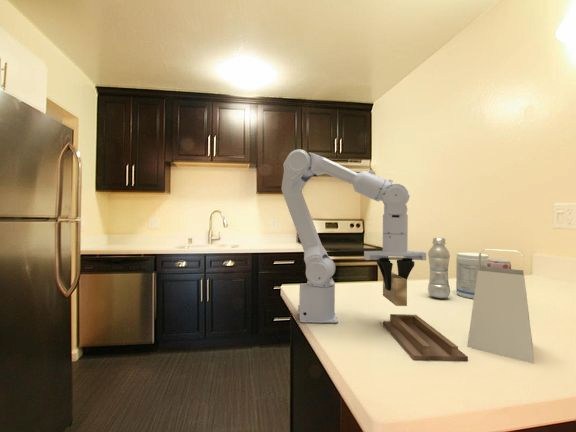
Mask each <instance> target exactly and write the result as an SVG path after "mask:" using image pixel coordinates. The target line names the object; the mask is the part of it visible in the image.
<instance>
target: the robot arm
mask: <svg viewBox="0 0 576 432" xmlns="http://www.w3.org/2000/svg"><path fill="white" fill-rule="evenodd" d="M282 165H283V175H282V182H281V193H282V195H283V198H284V201H285V203H286V206H287V209H288V211H289V215H290V217H291V219H292V222H293V225H294V228H295V230H296V233H297V236H298V239H299V241H300V244H301V247H302V249H303V261H304V263H305V277H306V279H307V281H306V283H299V299H298V300H299V301H298V303H299V304H298V306H297V312H298V313H299V322H300V323H313V324H314V323H318V324H320V323H323V324H325V323H327V324H331V323H332V324H337V323H339V320H338V318H337V316H336V314H335V306H336V305H335V302H336V301H335V300H336V299H335V294H336V291H335V290H336V283H335V281H334V279H333V276H334V275H335V273H336V268H337V267H336V264H335V262H334V261H333V259H332V258H331V257H330V256H329V255H328V253H327V250H326V249H325V247H324V245H322V244H323V243H322V242H321V239H320V237H319V234H318V231H317V228H316V226H315V224H314V220H313V219H312V216H311V212H310V211H309V207H308V205H307V203H306V200H305V197H304V194H303V189H304V188H305V185H306V184H307V183H308V181H309V180H310V179H312V178H313V176H314V175H316V176H321V175H328V176H331V177H333V178H336V179H338V180H341V181H343V182H345V183H348V184H351V185H352V186H353V190H354V192H356V193H358V194H359V195H362V196H365V197H367V198H369V199H371V200H372V201H376V202H382V203H383V214H382V250H364V252H363V260H365V261H371V260H375V261H376V265H377V266H378V268H379V270H380V273H381V275H382V276H381V277H382V280H383V279H384V283H385V289H387V290H391V273H393V272H392V271H393V266H394V263H393V262H391V260H392V261H393V260H395V261H396V266H397V275H399V276H401V277H403V278H405V279H407V280H408V279H409V276H410V274H411V271H412V270H413V269H414V267H415V261H427V252H426V251H415V250H412V251H411V250H408V249H409V248H408V247H409V246H408V245H409V244H408V240H409V239H408V234H409V233H408V232H409V231H408V230H409V229H408V228H409V227H408V226H409V225H408V224H409V223H408V221H409V219H408V213H407V212H408V206H407V203H408V201H409V200H410V194H409V191H408V189H407V187H405V186H404V185H402V184H401V183H393V182H394V180H393V179H391V178H389V179H386V178H383V177H381V176H378V175H377V174H376V172H375V171H373V170H371V169H370V170H369V171H366V170H363V171H360V172H357V171H354V170H351V169H349V168H347V167H346V166H343V165H341V164H339V163H338V162H335V161H333V160H330V159H328V158H327V157H324V156H321V155H318V154H316V153H313V152H309V153H307V151H306V150H304V149H299V148H298V149H294V150H292V151H291V152H290V153H289V154H288V155H287V156H286V159H285V160H284V162H283V164H282Z"/></svg>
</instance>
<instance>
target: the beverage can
mask: <svg viewBox="0 0 576 432" xmlns="http://www.w3.org/2000/svg"><path fill="white" fill-rule="evenodd" d="M487 267H494V268H504V269H512V264H511V260H510V259H504V258H492V257H491V258H488V261H487Z"/></svg>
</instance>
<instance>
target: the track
mask: <svg viewBox="0 0 576 432" xmlns="http://www.w3.org/2000/svg"><path fill="white" fill-rule="evenodd" d="M382 326H383V327H384V328H385V329H386V330H387V332H389V334H390V335H391V336H392V337H393V338H394V339H395V341H397V343H398V344H399V345H400V347H402V348H403V350H404V351H405V352H406V353H407V354H408V355H409V357H410V358H411V359H412V360H413V361H443V362H447V361H448V362H452V361H453V362H468V361H469V359H468V358H469V357H468V355H466V354H465V353H463V351H461V350H460V349H459V346H458V345H457V344H455V343H454V342H453V341H451V339H449V338H447V337H446V336H445V335H443V334H442V333H441V332H440V331H438V330H437V329H436V328H434V327H433V326H432V325H431V324H430V323H428V322H427V321H425V319H422V318H421V317H420V316H419V315H417V314H404V313H403V314H401V313H400V314H398V313H397V314H392V313H391V314H389V321H382Z"/></svg>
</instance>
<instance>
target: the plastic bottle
mask: <svg viewBox="0 0 576 432" xmlns="http://www.w3.org/2000/svg"><path fill="white" fill-rule="evenodd" d="M445 245H446V238H443V237H442V238H441V237H440V238H439V237H433V239H432V246H431V247H430V249H428V253H427V256H428V263H429V280H428V284H427V285H428V286H427V291H428V295H429V296H430V297H432V298H436V299H440V300H441V299H448V298H449V297H450V295H451V287H450V285H449V283H450V282H449V265H450V257H451V254H450V251H449V249H448V248H447V247H446V246H445Z"/></svg>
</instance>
